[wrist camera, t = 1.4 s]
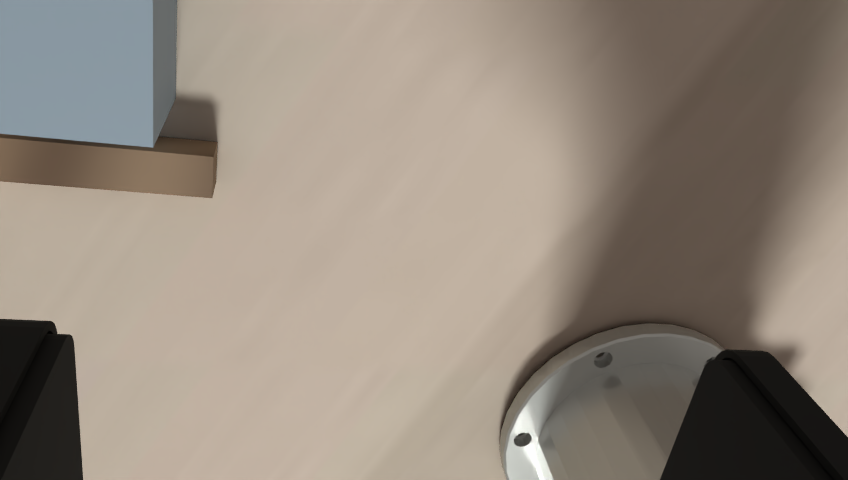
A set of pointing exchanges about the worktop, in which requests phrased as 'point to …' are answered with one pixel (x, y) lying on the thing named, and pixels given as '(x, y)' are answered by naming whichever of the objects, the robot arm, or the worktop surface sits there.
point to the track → (112, 165)
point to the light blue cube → (87, 69)
